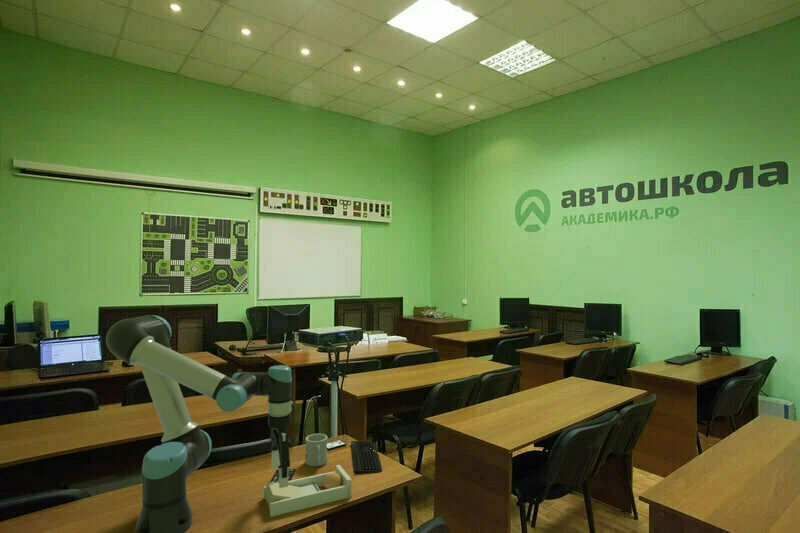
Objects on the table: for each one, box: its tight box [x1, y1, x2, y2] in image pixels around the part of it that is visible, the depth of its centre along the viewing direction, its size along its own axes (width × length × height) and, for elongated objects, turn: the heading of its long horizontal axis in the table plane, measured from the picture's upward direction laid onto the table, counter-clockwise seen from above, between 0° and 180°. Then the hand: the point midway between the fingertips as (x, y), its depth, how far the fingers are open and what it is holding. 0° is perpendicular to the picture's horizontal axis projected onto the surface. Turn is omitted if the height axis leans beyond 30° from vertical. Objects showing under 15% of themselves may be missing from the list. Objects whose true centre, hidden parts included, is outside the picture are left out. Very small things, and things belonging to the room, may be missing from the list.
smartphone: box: [269, 468, 296, 483], centre depth 161 cm, size 7×1×15 cm
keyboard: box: [350, 440, 383, 475], centre depth 180 cm, size 30×11×2 cm, turn 9°
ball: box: [324, 471, 342, 490], centre depth 151 cm, size 6×6×6 cm
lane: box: [263, 464, 353, 518], centre depth 147 cm, size 27×13×6 cm, turn 117°
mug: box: [304, 433, 329, 467], centre depth 173 cm, size 12×9×10 cm
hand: (279, 477), depth 143 cm, fingers open, 13 cm apart
